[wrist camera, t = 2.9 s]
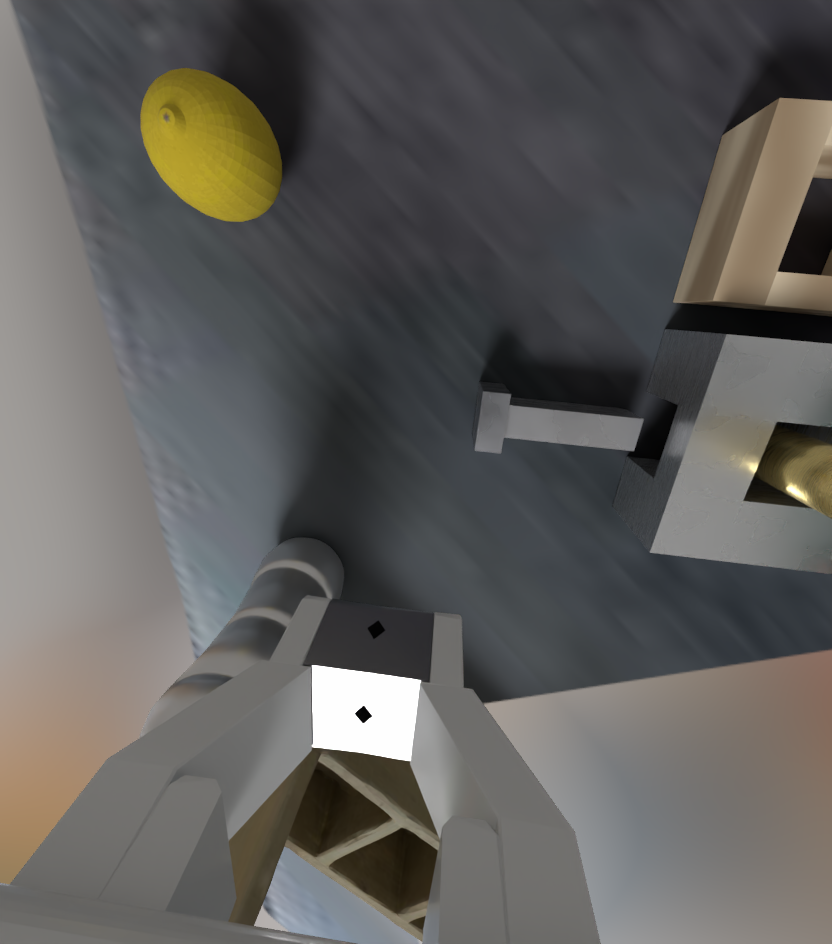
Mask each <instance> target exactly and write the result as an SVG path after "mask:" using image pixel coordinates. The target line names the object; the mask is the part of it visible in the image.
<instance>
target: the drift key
mask: <svg viewBox="0 0 832 944" xmlns="http://www.w3.org/2000/svg"><path fill="white" fill-rule="evenodd" d="M643 420H644V419H643V418H641V417H639V416H637V415H636V414H634V413H632V412H630V411H629V410H627V409H625V408H615V407H605V406H595V405H585V404H576V403H566V402H556V401H546V400H536V399H527V398H517V397H511V393H510V392H509V390H508V389H507V387H506V386H505V385H504V384H501V383H491V382H481V381H479V388H478V395H477V402H476V409H475V416H474V423H473V430H472V438H473V444H474V451H482V452H491V453H501V450H502V444H503V439H504V437H506V438H515V439H524V440H534V441H543V442H552V443H562V444H571V445H580V446H590V447H599V448H608V449H618V450H627V451H634V450H635V447H636V443H637V440H638V437H639V433H640V430H641V427H642V423H643Z"/></svg>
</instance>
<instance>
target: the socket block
mask: <svg viewBox="0 0 832 944" xmlns="http://www.w3.org/2000/svg"><path fill="white" fill-rule="evenodd" d="M646 392H648V393H651V394H653V395H655V396H658V397H660V398H663V399H665V400H667V401H670V402H672V403H674V404H677V405H678V408H677V411H676V414H675V417H674V420H673V423H672V426H671V429H670V432H669V435H668V438H667V441H666V444H665V447H664V450H663V453H662V456H661V459H660V460H656V459H647V458H638V457H628V456H627V459H626V462H625V465H624V469H623V472H622V475H621V479H620V482H619V485H618V489H617V492H616V496H615V499H614V502H613V506H612V507H613V508H614V509H615V510H616V511H617V513H618V514H619V515H620V516H621V518H622V519H623V520H624V521H625V523H626V524H627V525H628V526H629V527H630V529H631V530H632V531H633V532H634V534H635V535H636V536H637V537H638V539H639V540H640V541H641V542H642V543H643V545H644V546H645V547H646V548H647V550H648V551H649V552H650V553H659V554H667V555H676V556H684V557H692V558H701V559H709V560H718V561H726V562H735V563H743V564H752V565H760V566H769V567H777V568H785V569H794V570H802V571H811V572H819V573H828V574H832V519H831V518H829V517H827V516H826V515H824V514H822V513H820V512H818V511H816V510H815V509H813V508H811V507H809V506H807V505H806V504H804V503H802V502H800V501H798V500H797V499H795V498H793V497H791V496H789V495H787V494H786V493H784V492H782V491H780V490H778V489H777V488H775V487H773V486H771V485H769V484H767V483H766V482H764V481H762V480H760V479H758V478H757V477H755V476H754V474H755V472H756V469H757V467H758V465H759V462H760V460H761V458H762V455H763V453H764V451H765V448H766V446H767V444H768V441H769V439H770V437H771V434H772V432H773V430H774V427H775V425H778V426H781V427H784V428H787V429H790V430H793V431H795V432H798V433H801V434H804V435H807V436H810V437H812V438H815V439H818V440H821V441H824V442H827V443H829V444H832V344H828V343H817V342H806V341H795V340H784V339H774V338H763V337H752V336H741V335H730V334H719V333H707V332H695V331H683V330H671V329H665V331H664V334H663V337H662V341H661V344H660V347H659V351H658V354H657V357H656V361H655V364H654V368H653V371H652V374H651V378H650V381H649V384H648V388H647V391H646Z"/></svg>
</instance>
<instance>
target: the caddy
mask: <svg viewBox="0 0 832 944" xmlns="http://www.w3.org/2000/svg"><path fill="white" fill-rule="evenodd" d="M439 843H440V839H439V836H438V834H437V831H436V829H435V826H434V823H433V821H432V818H431V816H430V813H429V811H428V808H427V806H426V803H425V801H424V798H423V796H422V793H421V790H420V788H419V785H418V783H417V780H416V778H415V775H414V773H413V770H412V768H411V765H410V761H407V760H401V759H396V758H390V757H384V756H379V755H373V754H368V753H362V752H354V751H345V750H337V749H328V748H319V747H312V751H311V752H310V753H309V754H308V755H307V756H306V757H305V758H304V759H303V760H302V761H301V763H300V764H299V765H298V766H297V767H296V768H295V769H294V770H293V771H292V772H291V773H290V775H289V776H288V777H287V778H286V779H285V780H284V781H283V782H282V783H281V784H280V785H279V787H278V788H277V789H276V790H275V791H274V792H273V793H272V794H271V795H270V796H269V797H268V799H267V800H266V801H265V802H264V803H263V804H262V805H261V806H260V807H259V808H258V809H257V811H256V812H255V813H254V814H253V815H252V816H251V817H250V818H249V819H248V820H247V822H246V823H245V824H244V825H243V826H242V827H241V828H240V829H239V830H238V831H237V832H236V834H235V835H234V836H233V837H232V838H231V839H230V840H229V848H230V855H231V862H232V869H233V876H234V883H235V891H236V898H237V899H236V901H235V904H234V907H233V910H232V913H231V915H230V918H229V921H228V922H233V923H239V924H244V925H250V926H254V924H255V921H256V919H257V916H258V914H259V911H260V909H261V906H262V904H263V901H264V899H265V896H266V894H267V891H268V889H269V886H270V884H271V881H272V878H273V875H274V872H275V869H276V866H277V863H278V861H279V858H280V856H281V853H282V851H283V848H284V846H285V847H287V848H289V849H291V850H292V851H293V852H295V853H296V854H297V855H298V856H300V857H301V858H302V859H304V860H305V861H307V862H308V863H309V864H311V865H312V866H314V867H315V868H317V869H318V870H319V871H321V872H322V873H324V874H325V875H327V876H328V877H330V878H331V879H333V880H334V881H336V882H337V883H339V884H340V885H342V886H343V887H345V888H346V889H347V890H349V891H350V892H352V893H353V894H355V895H356V896H358V897H359V898H360V899H362V900H363V901H365V902H366V903H367V904H369V905H370V906H372V907H373V908H375V909H376V910H377V911H379V912H380V913H382V914H383V915H384V916H386V917H387V918H388V919H390V920H391V921H392V922H394V923H395V924H396V925H398V926H399V927H401V928H402V929H404V930H405V931H407V932H408V933H410V934H411V935H413V936H414V937H416V938H417V939H419V940H421V941H422V942H423V928H424V922H425V917H426V912H427V906H428V901H429V896H430V890H431V885H432V880H433V875H434V869H435V864H436V859H437V853H438V848H439Z"/></svg>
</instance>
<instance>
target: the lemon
mask: <svg viewBox="0 0 832 944" xmlns="http://www.w3.org/2000/svg"><path fill="white" fill-rule="evenodd" d="M141 131H142V136H143V141H144V145H145V148H146V150H147V152H148V155H149V157H150V160H151V162H152V163H153V165H154V167H155V168H156V170H157V171H158V173H159V174H160V176H161V177H162V179H163V180H164V181H165V183H166V184H167V185H168V186H169V187H170V188H171V189H172V190H173V191H174V192H175V193H176V194H177V195H178V196H179V197H180V198H181V199H183V200H184V201H185V202H187V203H188V204H190V205H191V206H193V207H194V208H196V209H197V210H199V211H201V212H202V213H204V214H206V215H209V216H212V217H215V218H218V219H221V220H224V221H237V222H243V221H247V220H250V219H254V218H257V217H258V216H260V215H261V214H263V213H264V212H266V211H267V210H268V209H269V208H270V206H271V205H272V204H273V203H274V201H275V199H276V197H277V195H278V193H279V190H280V185H281V180H282V161H281V156H280V151H279V147H278V144H277V141H276V139H275V137H274V135H273V132H272V130H271V128H270V126H269V124H268V123H267V121H266V120H265V118H264V117H263V115H262V114H261V113H260V111H259V110H258V108H257V107H256V106H255V105H254V103H253V102H252V101H251V100H249V99H248V98H247V97H246V96H245V95H244V94H243V93H242V92H240V91H239V90H238V89H237V88H236V87H234V86H233V85H232V84H230V83H228V82H226V81H224V80H222V79H220V78H218V77H217V76H215V75H213V74H210V73H208V72H205V71H200V70H195V69H189V68H182V69H176V70H171V71H169V72H167V73H165V74H163V75H162V76H160V77H158V78H157V79H156V80H155V81H154V82H153V83H152V84H151V86H150V87H149V88H148V90H147V93H146V95H145V97H144V99H143V104H142V109H141Z"/></svg>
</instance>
